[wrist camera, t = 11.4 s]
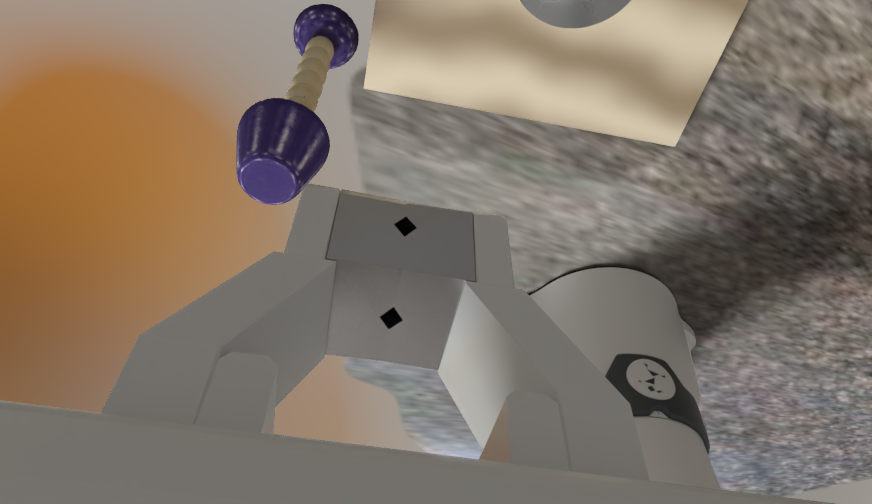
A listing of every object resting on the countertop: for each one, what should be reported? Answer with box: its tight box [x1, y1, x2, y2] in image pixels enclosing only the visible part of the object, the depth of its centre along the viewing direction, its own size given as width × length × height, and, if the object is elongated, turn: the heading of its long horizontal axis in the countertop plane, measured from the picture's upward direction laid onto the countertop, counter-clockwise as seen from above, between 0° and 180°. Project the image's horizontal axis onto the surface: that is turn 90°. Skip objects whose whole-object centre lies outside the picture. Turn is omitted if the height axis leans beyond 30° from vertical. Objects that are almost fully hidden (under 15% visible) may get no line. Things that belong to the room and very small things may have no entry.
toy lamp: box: [236, 4, 358, 205], centre depth 37 cm, size 5×5×17 cm
